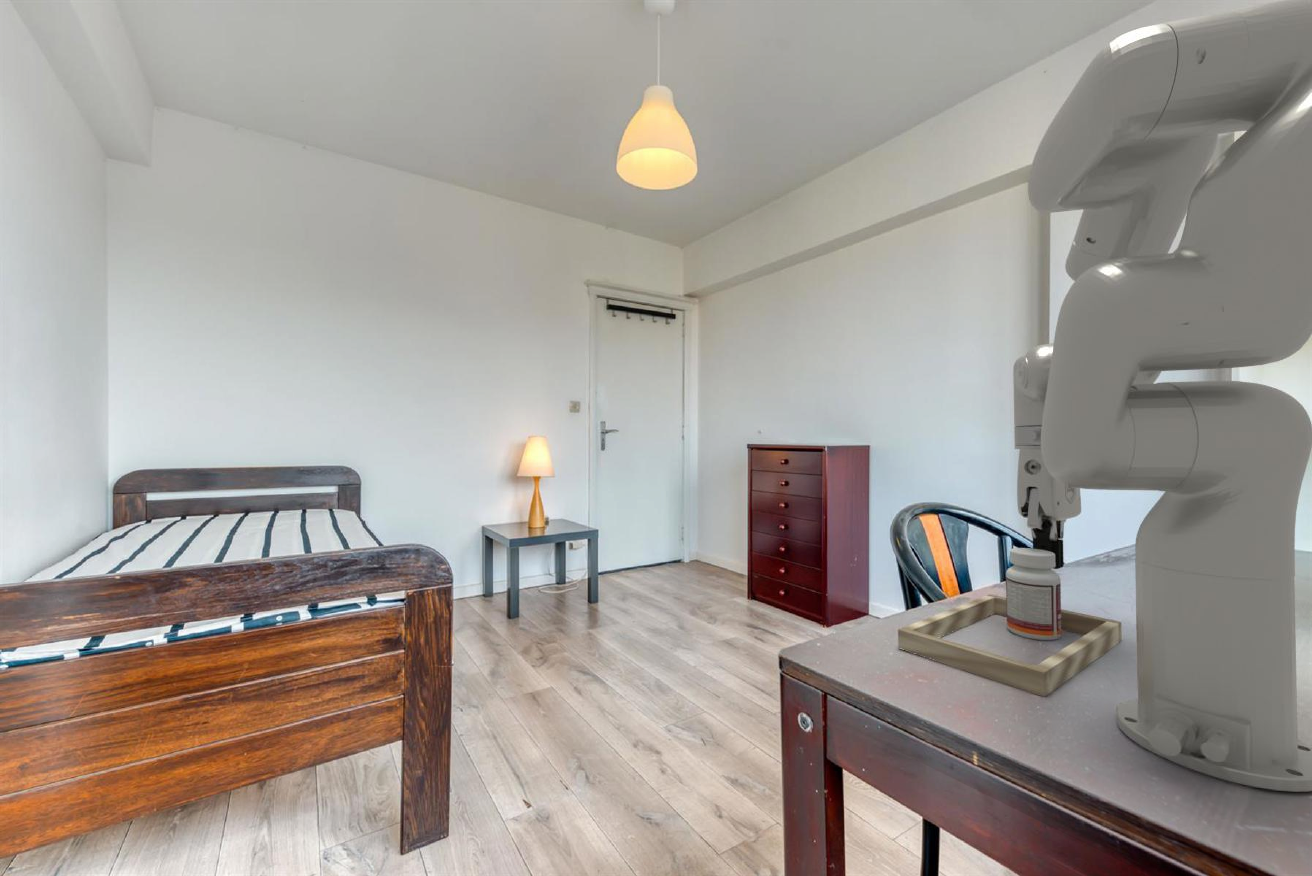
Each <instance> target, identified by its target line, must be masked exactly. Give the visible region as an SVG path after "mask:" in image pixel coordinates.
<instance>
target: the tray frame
mask: <svg viewBox="0 0 1312 876" xmlns="http://www.w3.org/2000/svg"><path fill="white" fill-rule="evenodd" d="M1006 610H1007V607H1006V596H999V595H995V594H986V595H984V596H982V597H978V598H977V599H974V600H971V601H969V602H966V603H963V604H961V605H959V606H955V607H953V608H951V609H947V610H945V611H942V612H939V613H937V614H935V615H932V616H928V617H927V618H924V619H922V620H919V621H916V622H914V623H911V624H909V625H905V626H904V627H901V628H898V629H897V639H898V640H897V644H898V645H897V647H899V648H902V649H904V650H907V651H909V652H912V653H916V654H918V655H922V656H925V657H927V658H926V659H928V658H931V659H934V660H935V661H934V660H933V661H934V662H937V661H939V662H938V663H940V662H941V663H940V664H943V663H945V664H944V665H946V664H947V665H946V666H949V667H952V666H953V667H952V668H955V669H958V670H961V671H965V672H967V673H970V674H974V675H977V676H979V677H983V678H986V679H989V680H992V681H994V682H999V683H1000V684H1005V685H1007V686H1010V687H1013V688H1016V689H1020V690H1023V691H1026V692H1029V693H1032V694H1035V695H1038V696H1041V697H1044V698H1045V697H1046V696H1048V695H1050V694H1051V693H1052V692H1054V691H1055V690H1056V689H1057V688H1059V687H1060V686H1062V685H1063V684H1065V683H1066V682H1067V681H1069V680H1070V679H1072V678H1073V677H1074V676H1076V675H1077V674H1079V673H1080V672H1081V671H1083V670H1084V669H1085V668H1086V667H1088V666H1090V665H1091V664H1092V663H1094V662H1095V661H1096V660H1097V659H1099V658H1100V657H1102V656H1103V655H1105V654H1106V653H1107V652H1109V651H1110V650H1111V649H1113V648H1115V646H1117V645H1118V644H1119V643H1121V642H1122V641H1123V639H1122V636H1123V635H1122V632H1123V631H1122V628H1123V626H1122V621H1119V620H1114V619H1109V618H1105V617H1099V616H1095V615H1090V614H1085V613H1079V612H1075V611H1071V610H1067V609H1066V610H1065V609H1062V608H1061V631H1062V630H1063V631H1067V632H1071V633H1075V634H1079V635H1083V636H1081V637H1080V638H1078V639H1076V640H1075V641H1073V642H1072V643H1070V644H1068V645H1067V646H1065V647H1063V648H1061V650H1059V651H1057V652H1056V653H1054V654H1052V655H1050V656H1049V657H1048V658H1046V659H1045V660H1042V661H1041V662H1040V663H1038V664H1037V665H1034V664H1029V663H1027V662H1024V661H1019V660H1016V659H1013V658H1010V657H1006V656H1002V655H999V654H996V653H992V652H990V651H986V650H982V649H978V648H975V647H972V646H967V645H965V644H962V643H957V642H955V641H951V640H948V639H944V638H942V637H940V636H943V635H945V634H947V635H949V634H948V633H950V634H952V633H953V632H952V631H954V632H956V631H959V630H961V629H963V628H965V626H966V627H968V626H970V625H972V624H974V623H977V622H979V621H982V620H984V619H985V617H986V618H989V617H990V616H989V615H991V616H993V615H999V616H1002V615H1003V617H1006V618H1007V611H1006ZM994 613H995V614H994ZM988 616H989V617H988ZM983 618H984V619H983ZM981 619H982V620H981ZM978 620H979V621H978ZM967 625H968V626H967ZM960 628H961V629H960ZM958 629H959V630H958ZM951 632H952V633H951ZM945 636H946V635H945ZM938 637H940V638H938ZM943 637H944V636H943ZM909 652H908V653H909ZM912 653H911V654H912ZM918 655H917V656H918ZM925 657H924V658H925ZM931 659H930V660H931Z"/></svg>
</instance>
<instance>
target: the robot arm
mask: <svg viewBox="0 0 1312 876" xmlns="http://www.w3.org/2000/svg"><path fill="white" fill-rule="evenodd" d="M1234 132H1244V133H1243V134H1242V135H1240V136H1239V138H1237V139H1236V140H1235V141H1234V142H1233V143H1232V144H1231V145H1229V147H1227V149H1225V150H1224V151H1223V153H1221V154H1220V156H1219V157H1217V159H1216V160H1215V161H1214V163H1212V165H1211V166H1210V167H1209V168H1208V166H1209V164H1210V162H1211V160H1212V158H1213V155H1214V153H1215V151H1216V148H1217V144H1218V139H1219V135H1221V134H1229V133H1234ZM1207 168H1208V169H1207ZM1027 195H1028V200H1029V202H1030V204H1031V206H1032V207H1033V208H1034V209H1035V210H1036V211H1038V212H1041V213H1046V214H1050V213H1061V212H1062V213H1063V212H1071V211H1072V212H1073V211H1081V210H1082V213H1081V215H1080V219H1079V222H1078V226H1077V228H1076V231H1075V234H1074V237H1073V240H1072V243H1071V247H1070V249H1069V252H1068V254H1067V258H1066V261H1065V265H1064V266H1065V267H1064V268H1065V272H1066V274H1067V275H1068V277H1069V278H1070V279H1071V280H1072V281H1074V282H1073V283H1072V284H1071V286H1070V288H1069V289H1068V291H1067V293H1066V294H1065V297H1063V301H1062V302H1061V303H1062V304H1061V306H1060V309H1059V313H1058V317H1057V322H1056V326H1055V331H1054V338H1053V343H1044V344H1039V345H1036V346H1034V347H1031V348H1030V349H1029V350H1028V351H1027V352H1026V353H1025V355H1023V356H1020V357H1018V358H1017V359H1016V360H1015V362H1014V364H1013V375H1012V376H1013V378H1012V379H1013V380H1012V381H1013V417H1014V418H1013V420H1014V422H1013V423H1014V424H1013V426H1014V430H1013V431H1014V432H1013V433H1014V450H1019V452H1018V464H1017V479H1016V480H1017V481H1016V486H1017V488H1016V497H1017V499H1016V500H1017V511H1018V514H1019V515H1020V516H1022V517H1023V518H1027V523H1026V526H1027V527H1028V528H1029V529H1030V530H1031V538H1032V549H1040V550H1046V551H1050V552H1053V553H1054V554H1055V563H1056V566H1055V567H1054V568H1052V570H1053V569H1054V570H1059V569H1061V568H1063V567H1064V562H1065V561H1064V533H1065V523H1066V522H1067V520H1068V519H1072V518H1076V517H1078V516H1079V515H1081V512H1082V500H1081V497H1082V496H1081V489H1083V490H1100V491H1101V490H1102V491H1103V490H1105V491H1159V492H1163V494H1162V495H1161V496H1160V498H1159V499H1158V500H1157V501H1156V503H1154V504H1153V507H1152V508H1151V509H1150V510H1149V511H1148V513H1147V514H1146V515H1145V517H1144V518H1143V520H1142V522H1141V523H1140V524H1139V528H1138V530H1137V533H1136V538H1135V546H1134V547H1135V550H1134V551H1135V553H1134V554H1135V557H1134V559H1135V560H1134V563H1135V569H1134V570H1135V612H1136V613H1135V616H1136V617H1135V619H1136V620H1135V621H1136V623H1135V625H1136V626H1135V627H1136V628H1135V629H1136V676H1137V677H1136V678H1137V679H1136V680H1137V681H1136V682H1137V699H1135V698H1134V699H1130V700H1126V701H1124V702H1121V703H1119V705H1118V706H1117V707H1116V709H1115V719H1116V724H1117V725H1118V727H1119V728H1120V730H1121V731H1122V732H1123V733H1124V734H1125V735H1126V736H1128V737H1129V739H1131V740H1132V741H1134V742H1135V743H1136V744H1138V745H1140V747H1143V748H1144V749H1147V750H1148V751H1150V752H1151V753H1153V754H1155V755H1158V756H1160V757H1162V758H1163V759H1165V760H1168V761H1170V762H1173V763H1175V764H1176V765H1180V766H1183V767H1185V768H1186V769H1187V768H1188V769H1190V770H1193V771H1196V772H1198V773H1202V774H1204V775H1208V776H1210V777H1213V778H1217V779H1220V780H1225V781H1227V782H1231V783H1236V784H1239V785H1244V786H1249V787H1253V788H1257V789H1264V790H1270V791H1277V792H1278V791H1279V792H1291V793H1293V792H1294V793H1299V792H1312V747H1310V745H1308V744H1306V743H1305V742H1302V740H1299V739H1298V737H1299V735H1298V734H1299V733H1298V698H1297V697H1298V696H1297V695H1298V692H1297V689H1298V688H1297V645H1296V643H1297V642H1296V638H1297V637H1296V602H1295V601H1296V599H1295V598H1296V595H1295V594H1296V593H1295V590H1296V588H1295V587H1296V586H1295V577H1296V561H1295V560H1296V559H1295V556H1296V555H1295V554H1296V553H1295V551H1296V549H1295V546H1296V545H1295V543H1296V542H1295V541H1296V539H1295V536H1296V521H1297V510H1298V504H1299V497H1300V492H1301V489H1302V485H1303V480H1304V478H1305V475H1306V470H1307V466H1308V463H1309V459H1310V455H1311V451H1312V421H1311V417H1310V415H1309V413H1308V412H1307V410H1306V409H1305V407H1304V406H1303V404H1301V403H1300V402H1299V401H1298V400H1297V398H1294V397H1293V396H1292V395H1290V394H1289V393H1287V392H1285V391H1283V390H1282V389H1278V388H1276V387H1272V386H1269V385H1267V384H1262V383H1255V382H1248V381H1240V380H1239V381H1237V380H1204V381H1203V380H1202V381H1201V380H1200V381H1198V380H1196V381H1166V382H1163V381H1162V382H1156V381H1157V380H1158V378H1159V377H1160V375H1161V373H1162V372H1172V371H1174V372H1175V371H1194V370H1195V371H1198V370H1199V371H1201V370H1221V369H1232V368H1233V369H1235V368H1247V367H1256V366H1263V365H1268V364H1273V363H1277V362H1280V361H1283V360H1286V359H1287V358H1289V357H1291V356H1292V355H1294V354H1296V353H1297V352H1298V351H1300V350H1301V349H1302V348H1303V346H1305V344H1306V343H1307V342H1308V341H1309V339H1310V337H1311V336H1312V0H1277V1H1273V2H1272V1H1271V2H1265V3H1261V4H1257V5H1256V4H1255V5H1250V6H1246V7H1242V8H1235V9H1231V10H1228V11H1222V12H1217V13H1212V14H1206V15H1200V16H1194V17H1189V18H1184V19H1177V20H1172V21H1167V22H1160V23H1157V24H1153V25H1152V24H1151V25H1148V26H1144V27H1140V28H1136V29H1133V30H1130V31H1128V32H1126V33H1123V34H1122V35H1120V36H1118V37H1116V38H1114V39H1113V40H1111V42H1109V43H1108V44H1106V45H1105V46H1104V47H1103V48H1102V49H1101V50H1100V51H1099V52H1098V53H1097V54H1096V55H1095V57H1094V58H1093V59H1092V60H1091V62H1090V63H1089V64H1088V65H1087V67H1086V68H1085V70H1084V72H1083V73H1082V75H1081V77H1080V78H1079V79H1078V81H1077V82H1076V83H1075V86H1074V88H1073V89H1072V90H1071V92H1070V94H1069V95H1068V97H1066V99H1065V101H1064V102H1063V104H1062V105H1061V107H1060V108H1059V110H1058V111H1057V112H1056V115H1055V116H1054V118H1053V119H1052V121H1051V123H1049V126H1048V128H1047V130H1046V131H1045V133H1044V135H1043V137H1042V139H1041V141H1040V143H1039V145H1038V147H1037V149H1036V151H1035V154H1034V157H1033V160H1032V163H1031V165H1030V170H1029V174H1028V180H1027ZM1184 219H1185V221H1184ZM1183 222H1184V227H1183V230H1182V231H1183V232H1182V235H1181V239H1180V240H1179V244H1178V245H1177V248H1176V249H1175V250H1174V251H1173V252H1171V253H1170V251H1171V248H1172V245H1173V244H1174V241H1175V239H1176V237H1177V234H1178V232H1179V230H1180V228H1181V227H1182V223H1183ZM1155 382H1156V383H1155Z"/></svg>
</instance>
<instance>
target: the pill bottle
mask: <svg viewBox="0 0 1312 876" xmlns="http://www.w3.org/2000/svg"><path fill="white" fill-rule="evenodd" d="M1009 562H1010V564H1012V566H1010V567H1009V568H1007V570H1006V571H1005V591H1006V592H1005V598H1006V607H1007V610H1006V611H1007V617H1006V627H1007V629H1008V630H1009V631H1010V632H1011V633H1013V634H1015V635H1017V636H1019V637H1022V638H1025V639H1030V640H1036V641H1037V640H1038V641H1055V640H1059V639H1060V638H1061V636H1062V629H1061V609H1062V603H1061V602H1062V601H1061V599H1062V595H1061V594H1062V592H1061V591H1062V590H1061V586H1062V585H1061V578H1060V575H1059V574H1058V573H1057V572H1056V571H1055V570H1053V568H1054V567H1055V566H1056V563H1055V554H1054V553H1053V552H1050V551H1046V550H1040V549H1033V548H1032V547H1031V548H1029V547H1027V548H1026V547H1016V548H1015V547H1013V548H1011V549H1010V550H1009Z"/></svg>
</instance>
